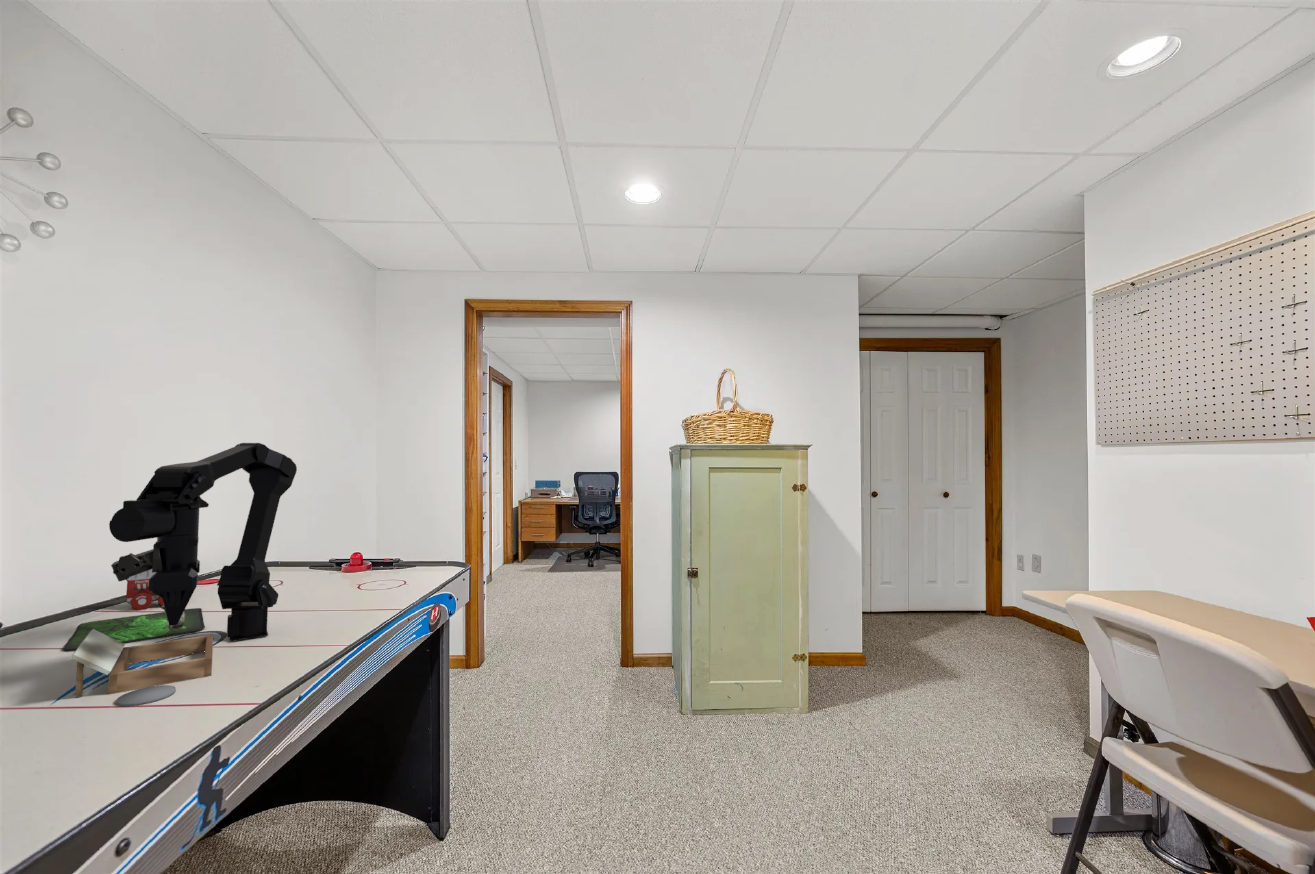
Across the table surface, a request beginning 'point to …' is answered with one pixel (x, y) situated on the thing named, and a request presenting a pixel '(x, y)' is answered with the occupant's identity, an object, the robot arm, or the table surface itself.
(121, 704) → the felt pad
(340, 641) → the table surface
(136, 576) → the toy fire truck
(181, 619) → the wristwatch
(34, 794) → the table surface
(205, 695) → the table surface
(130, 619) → the mouse mat
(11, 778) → the table surface
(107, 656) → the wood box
